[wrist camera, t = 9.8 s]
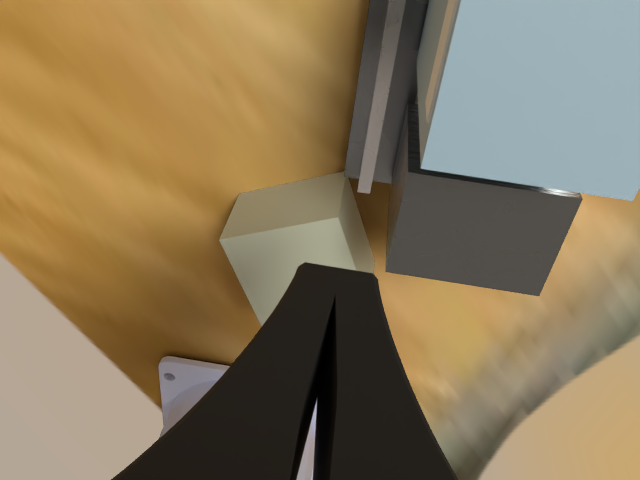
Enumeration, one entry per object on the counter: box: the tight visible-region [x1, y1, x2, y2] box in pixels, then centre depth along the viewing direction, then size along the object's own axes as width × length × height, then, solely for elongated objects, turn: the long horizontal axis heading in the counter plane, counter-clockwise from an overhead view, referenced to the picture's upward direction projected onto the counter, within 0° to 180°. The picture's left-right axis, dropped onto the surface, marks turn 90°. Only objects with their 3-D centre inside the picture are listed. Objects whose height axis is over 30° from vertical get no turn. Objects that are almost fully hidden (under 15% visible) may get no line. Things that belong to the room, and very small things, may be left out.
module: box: [417, 0, 640, 201], centre depth 12 cm, size 4×4×6 cm
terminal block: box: [219, 171, 375, 327], centre depth 20 cm, size 4×4×3 cm
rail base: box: [344, 0, 582, 296], centre depth 14 cm, size 12×7×6 cm, turn 174°
